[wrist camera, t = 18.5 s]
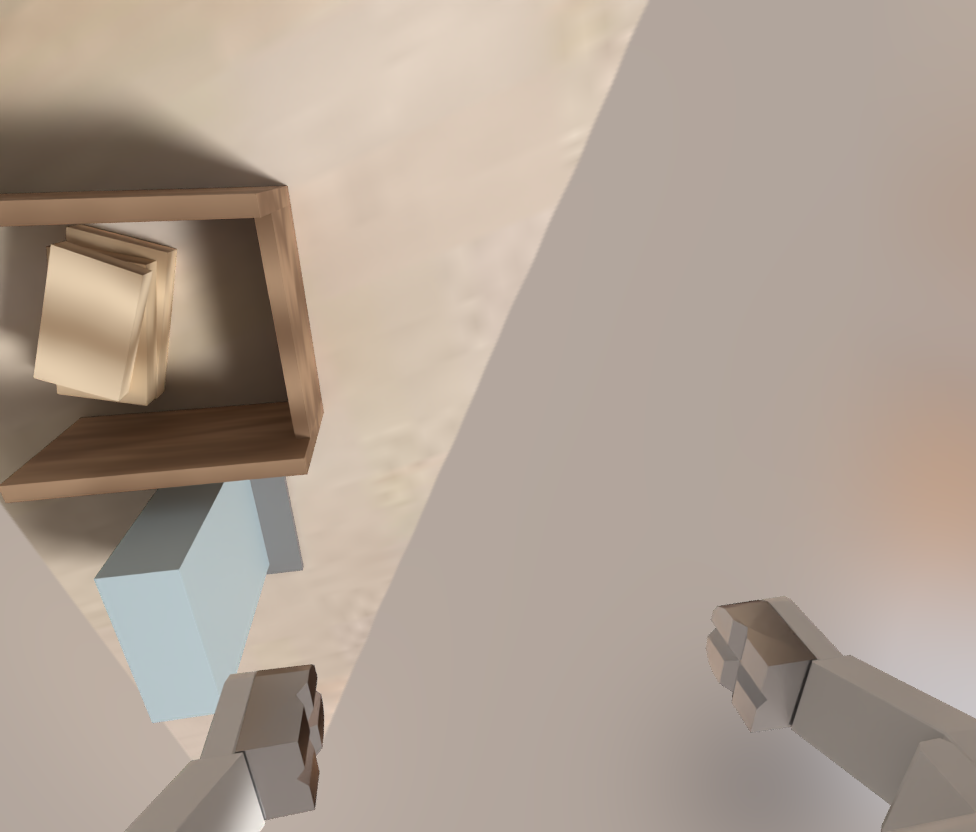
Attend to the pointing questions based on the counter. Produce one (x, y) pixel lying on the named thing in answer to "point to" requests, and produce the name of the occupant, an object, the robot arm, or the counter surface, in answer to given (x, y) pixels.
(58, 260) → the offcut stack
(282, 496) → the rubber mat
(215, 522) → the pale blue upright block
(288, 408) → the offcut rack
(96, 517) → the counter surface
